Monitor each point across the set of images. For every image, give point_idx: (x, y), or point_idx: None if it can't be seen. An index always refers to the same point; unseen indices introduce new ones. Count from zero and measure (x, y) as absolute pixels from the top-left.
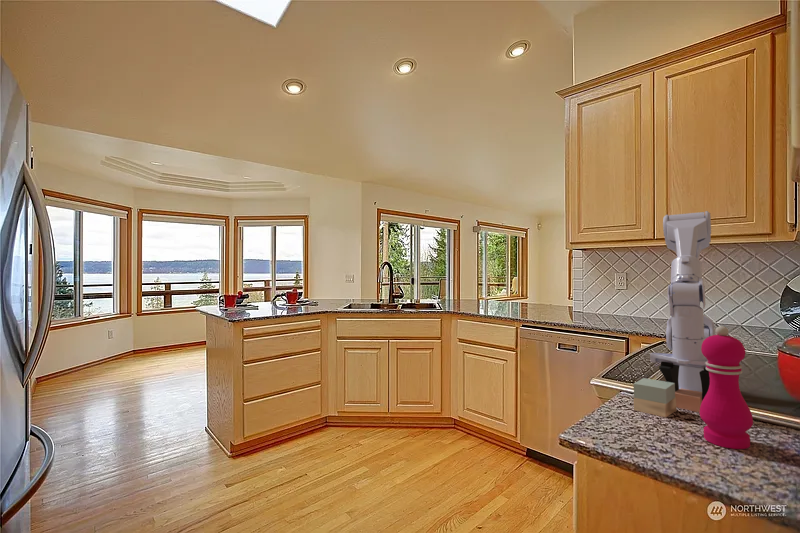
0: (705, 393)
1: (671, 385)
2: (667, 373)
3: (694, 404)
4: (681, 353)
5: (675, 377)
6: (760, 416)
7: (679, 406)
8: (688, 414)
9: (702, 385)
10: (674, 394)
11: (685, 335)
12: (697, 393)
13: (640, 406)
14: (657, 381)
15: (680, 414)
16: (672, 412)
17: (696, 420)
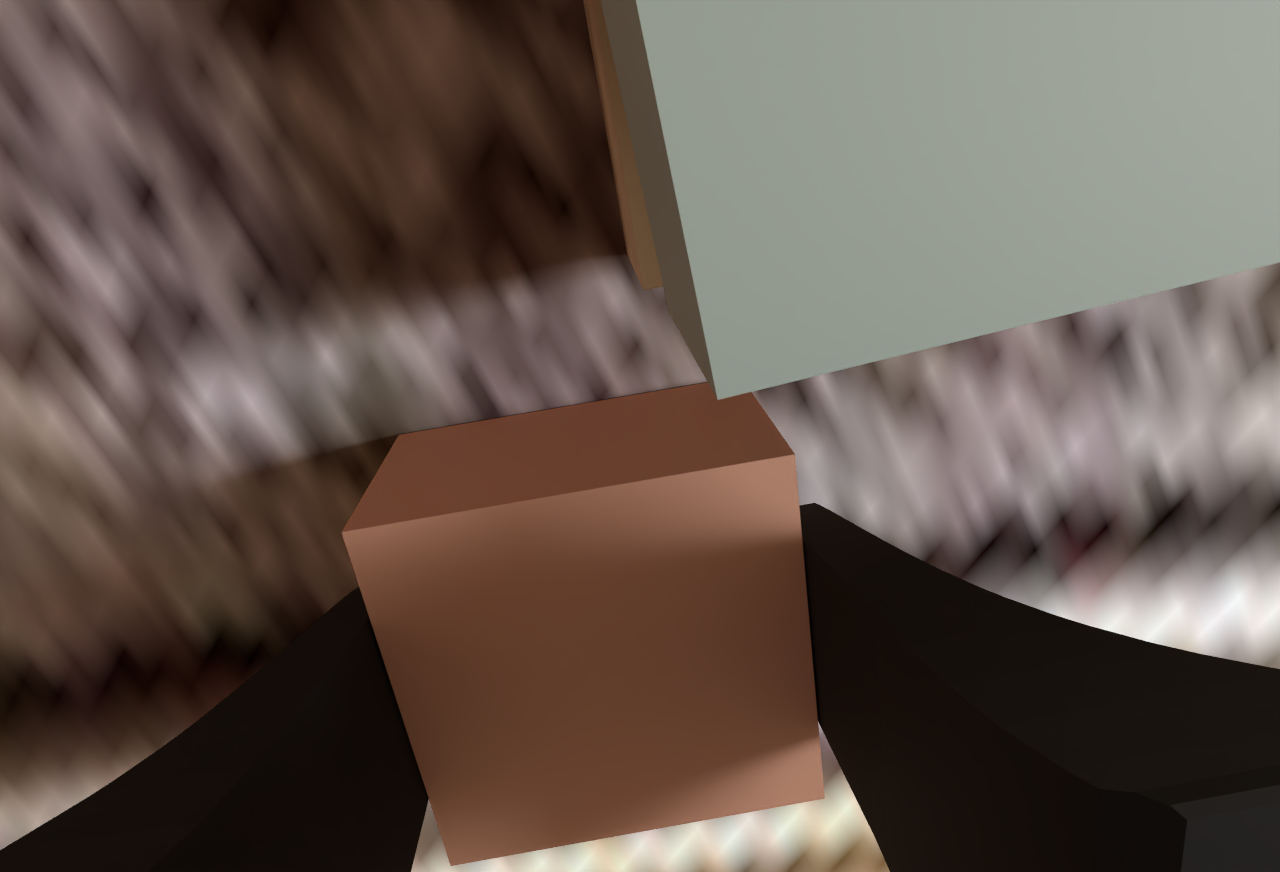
0: (273, 673)
1: (646, 52)
2: (1102, 704)
3: (450, 459)
4: None
5: (924, 839)
6: None
7: (657, 396)
8: (435, 221)
9: (242, 768)
10: (664, 275)
11: None
12: (527, 742)
13: None
14: (1129, 145)
15: (494, 113)
16: (597, 75)
17: (202, 30)
